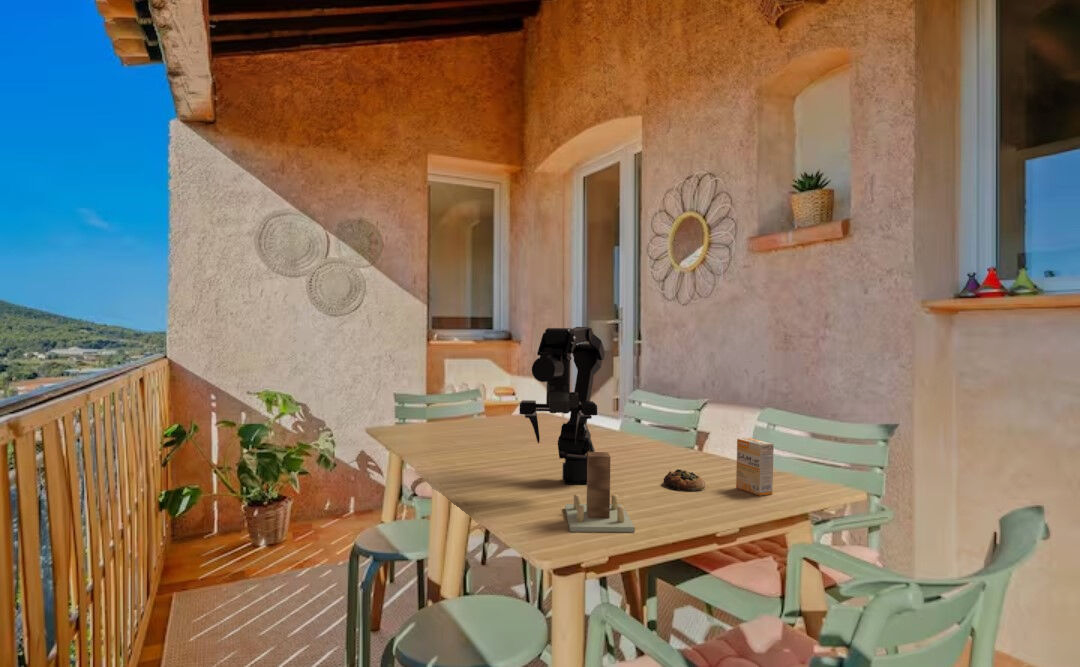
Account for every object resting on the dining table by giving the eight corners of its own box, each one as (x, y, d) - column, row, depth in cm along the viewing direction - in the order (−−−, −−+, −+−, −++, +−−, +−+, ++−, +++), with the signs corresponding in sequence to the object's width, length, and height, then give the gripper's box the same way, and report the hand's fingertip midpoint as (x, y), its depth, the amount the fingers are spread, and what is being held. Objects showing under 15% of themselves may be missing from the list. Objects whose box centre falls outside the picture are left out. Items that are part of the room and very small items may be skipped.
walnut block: (607, 511, 123) (607, 452, 123) (609, 518, 118) (610, 456, 118) (586, 511, 123) (587, 451, 123) (588, 518, 118) (589, 456, 118)
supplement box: (735, 488, 147) (735, 438, 147) (748, 486, 149) (749, 437, 149) (759, 496, 139) (760, 444, 139) (773, 494, 141) (774, 442, 141)
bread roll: (655, 486, 148) (657, 467, 148) (674, 483, 156) (676, 465, 157) (695, 496, 141) (697, 476, 141) (712, 493, 149) (714, 473, 150)
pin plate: (622, 508, 128) (622, 491, 128) (634, 532, 113) (634, 512, 113) (565, 508, 128) (565, 490, 128) (570, 531, 113) (570, 511, 113)
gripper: (519, 381, 129) (518, 449, 129) (600, 382, 129) (599, 450, 129) (520, 377, 140) (519, 440, 140) (595, 378, 140) (594, 441, 140)
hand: (557, 443), depth 137 cm, fingers open, 9 cm apart
